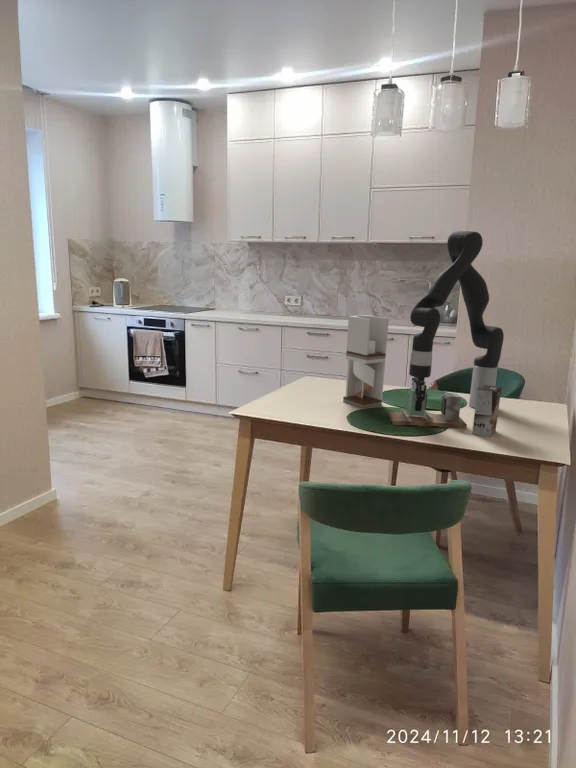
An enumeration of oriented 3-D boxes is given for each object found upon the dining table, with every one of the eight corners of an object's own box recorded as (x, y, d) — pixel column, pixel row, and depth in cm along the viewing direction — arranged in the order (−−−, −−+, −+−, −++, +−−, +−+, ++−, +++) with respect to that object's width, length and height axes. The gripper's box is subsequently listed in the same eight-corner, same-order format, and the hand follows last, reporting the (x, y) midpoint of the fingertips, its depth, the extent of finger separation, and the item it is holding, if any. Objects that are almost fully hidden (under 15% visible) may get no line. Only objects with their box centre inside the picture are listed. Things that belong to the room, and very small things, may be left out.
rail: (457, 418, 210) (460, 391, 208) (466, 428, 199) (469, 399, 196) (388, 415, 211) (390, 388, 208) (393, 424, 199) (395, 396, 197)
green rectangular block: (422, 412, 206) (424, 388, 204) (425, 415, 202) (428, 391, 200) (407, 411, 206) (409, 387, 204) (410, 415, 202) (412, 391, 200)
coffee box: (490, 437, 189) (496, 391, 186) (471, 433, 192) (477, 388, 189) (496, 431, 197) (501, 386, 193) (477, 427, 200) (482, 384, 196)
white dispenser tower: (343, 401, 229) (348, 316, 221) (361, 398, 235) (368, 315, 227) (362, 408, 220) (369, 319, 212) (381, 404, 226) (388, 318, 218)
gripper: (436, 367, 193) (431, 414, 197) (427, 359, 207) (422, 404, 211) (414, 366, 193) (409, 413, 197) (406, 358, 207) (402, 403, 211)
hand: (416, 408), depth 204 cm, fingers closed on green rectangular block, 4 cm apart
